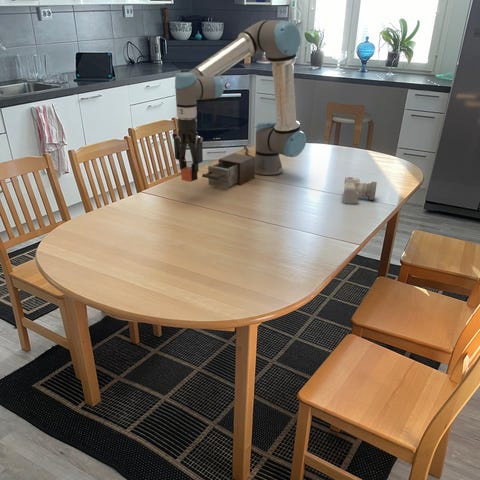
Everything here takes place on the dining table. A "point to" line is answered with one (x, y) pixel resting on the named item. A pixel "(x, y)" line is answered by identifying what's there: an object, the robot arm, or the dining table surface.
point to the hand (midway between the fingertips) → (189, 178)
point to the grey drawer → (222, 174)
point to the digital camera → (357, 190)
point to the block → (187, 174)
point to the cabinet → (242, 166)
